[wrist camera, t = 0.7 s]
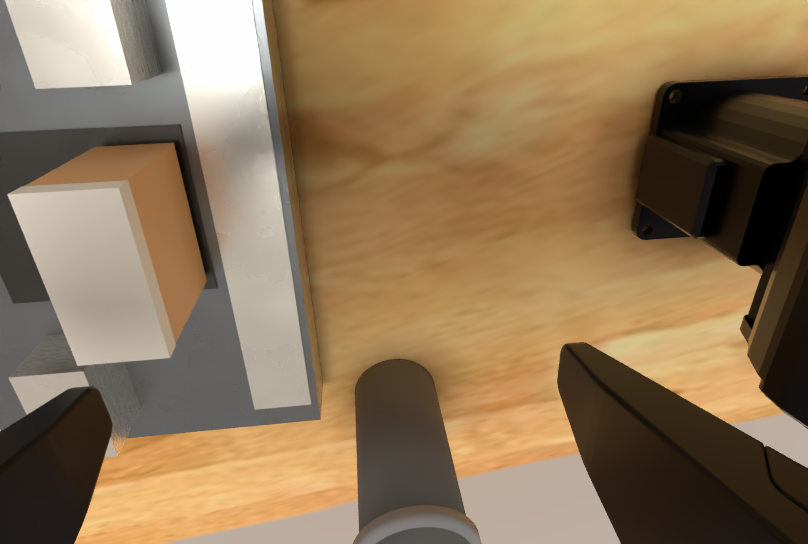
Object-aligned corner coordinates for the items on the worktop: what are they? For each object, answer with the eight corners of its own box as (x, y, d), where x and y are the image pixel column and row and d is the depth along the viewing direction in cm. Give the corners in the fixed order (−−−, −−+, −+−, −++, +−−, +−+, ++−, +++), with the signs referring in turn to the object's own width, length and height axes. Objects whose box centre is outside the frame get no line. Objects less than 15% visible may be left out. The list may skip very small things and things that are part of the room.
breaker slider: (175, 142, 16) (118, 187, 12) (208, 281, 18) (169, 357, 14) (93, 146, 16) (7, 194, 12) (137, 286, 18) (77, 365, 14)
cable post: (440, 350, 25) (486, 513, 17) (440, 421, 27) (480, 596, 19) (345, 358, 24) (345, 529, 16) (352, 430, 26) (356, 611, 18)
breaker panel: (254, -133, 15) (218, -190, 11) (322, 382, 25) (318, 463, 20) (-212, -128, 14) (-456, -189, 10) (42, 408, 24) (-27, 499, 19)
